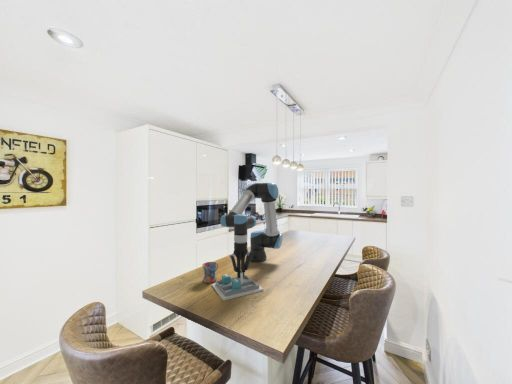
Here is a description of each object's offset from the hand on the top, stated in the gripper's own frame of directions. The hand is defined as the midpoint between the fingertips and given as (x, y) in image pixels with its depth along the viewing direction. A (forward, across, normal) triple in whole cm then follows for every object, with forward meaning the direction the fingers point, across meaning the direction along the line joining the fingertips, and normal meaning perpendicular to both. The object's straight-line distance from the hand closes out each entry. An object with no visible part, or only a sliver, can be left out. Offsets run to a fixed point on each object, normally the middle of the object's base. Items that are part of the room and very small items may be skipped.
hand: (240, 283), depth 121 cm
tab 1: (+3, +5, -9) cm, 11 cm away
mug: (+5, +10, -23) cm, 25 cm away
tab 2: (+3, +3, 0) cm, 4 cm away
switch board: (+5, 0, -5) cm, 6 cm away
